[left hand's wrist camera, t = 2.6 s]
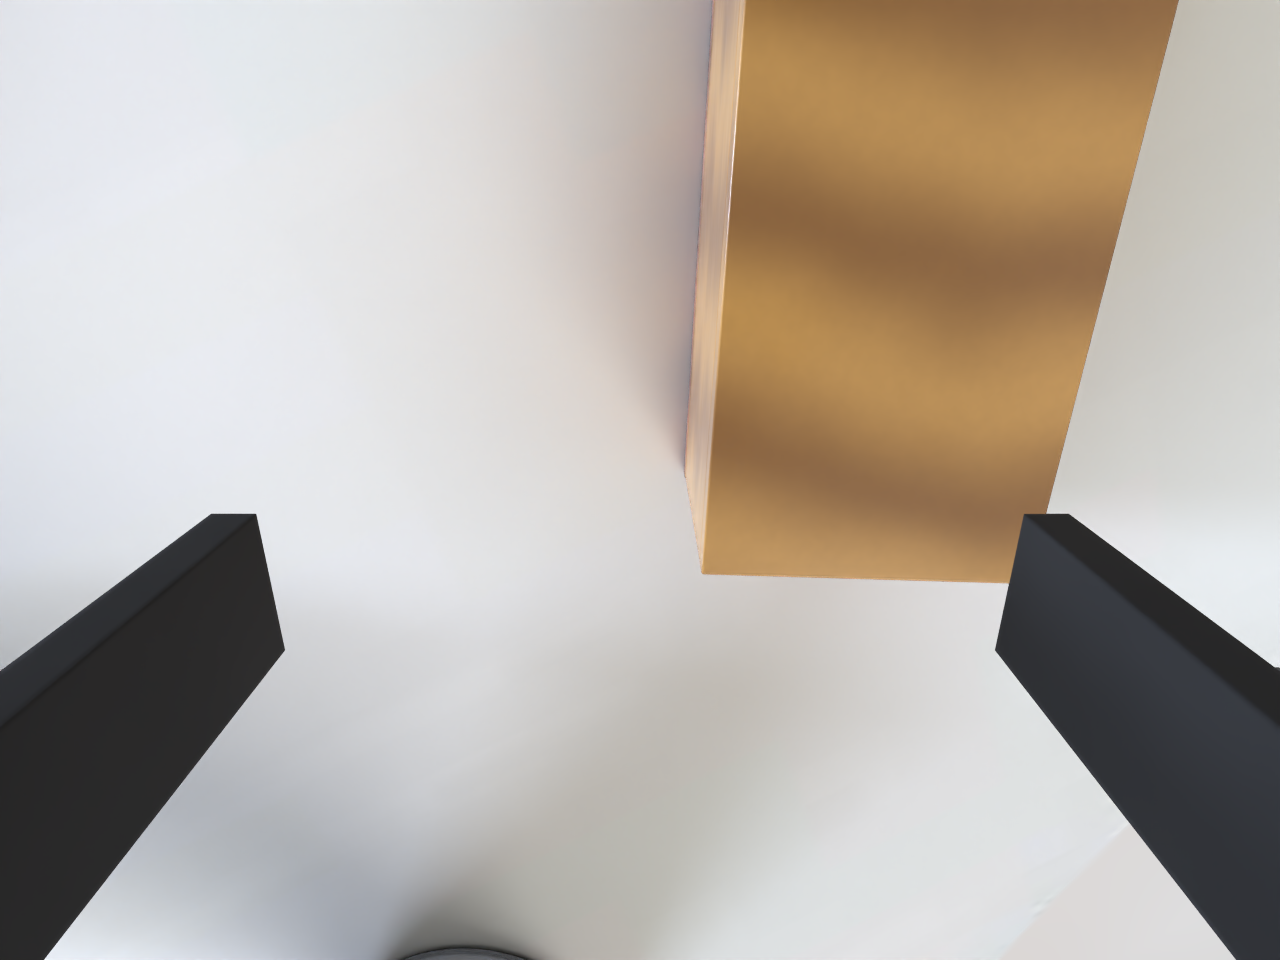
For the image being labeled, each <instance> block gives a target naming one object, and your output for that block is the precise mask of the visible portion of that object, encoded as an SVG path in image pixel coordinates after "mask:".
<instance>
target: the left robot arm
mask: <svg viewBox="0 0 1280 960" xmlns="http://www.w3.org/2000/svg"><path fill="white" fill-rule="evenodd" d="M284 651H285V648H284V643H283V639H282V634H281V629H280V624H279V620H278V615H277V610H276V606H275V601H274V596H273V591H272V587H271V582H270V577H269V572H268V568H267V563H266V558H265V554H264V549H263V544H262V539H261V535H260V530H259V525H258V520H257V516H256V514H210V515H209V516H208V517H206V518H205V519H204V520H202V521H201V522H200V523H198V524H197V525H196V526H194V527H193V528H192V529H190V530H189V531H188V532H186V533H185V534H184V535H182V536H181V537H180V538H178V539H177V540H176V541H174V542H173V543H172V544H170V545H169V546H168V547H166V548H165V549H164V550H162V551H161V552H160V553H158V554H157V555H155V556H154V557H153V558H151V559H150V560H149V561H147V562H146V563H145V564H143V565H142V566H141V567H139V568H138V569H137V570H135V571H134V572H133V573H131V574H130V575H129V576H127V577H126V578H125V579H123V580H122V581H121V582H119V583H118V584H117V585H115V586H114V587H113V588H111V589H110V590H109V591H107V592H106V593H105V594H103V595H102V596H100V597H99V598H98V599H96V600H95V601H94V602H92V603H91V604H90V605H88V606H87V607H86V608H84V609H83V610H82V611H80V612H79V613H78V614H76V615H75V616H74V617H72V618H71V619H70V620H68V621H67V622H66V623H64V624H63V625H62V626H60V627H59V628H58V629H56V630H55V631H54V632H52V633H51V634H50V635H48V636H47V637H46V638H44V639H43V640H41V641H40V642H39V643H37V644H36V645H35V646H33V647H32V648H31V649H29V650H28V651H27V652H25V653H24V654H23V655H21V656H20V657H19V658H17V659H16V660H15V661H13V662H12V663H11V664H9V665H8V666H7V667H5V668H4V669H3V670H1V671H0V960H44V959H45V958H46V956H47V955H48V954H49V952H50V951H51V950H52V949H53V947H54V946H55V945H56V943H57V942H58V941H59V940H60V938H61V937H62V936H63V934H64V933H65V932H66V931H67V929H68V928H69V927H70V926H71V924H72V923H73V922H74V920H75V919H76V918H77V917H78V915H79V914H80V913H81V911H82V910H83V909H84V908H85V906H86V905H87V904H88V902H89V901H90V900H91V899H92V897H93V896H94V895H95V893H96V892H97V891H98V890H99V888H100V887H101V886H102V884H103V883H104V882H105V881H106V879H107V878H108V877H109V875H110V874H111V873H112V872H113V870H114V869H115V868H116V866H117V865H118V864H119V863H120V861H121V860H122V859H123V857H124V856H125V855H126V854H127V852H128V851H129V850H130V848H131V847H132V846H133V845H134V843H135V842H136V841H137V839H138V838H139V837H140V836H141V834H142V833H143V832H144V830H145V829H146V828H147V827H148V825H149V824H150V823H151V821H152V820H153V819H154V818H155V816H156V815H157V814H158V813H159V811H160V810H161V809H162V807H163V806H164V805H165V804H166V802H167V801H168V800H169V798H170V797H171V796H172V795H173V793H174V792H175V791H176V789H177V788H178V787H179V786H180V784H181V783H182V782H183V780H184V779H185V778H186V777H187V775H188V774H189V773H190V771H191V770H192V769H193V768H194V766H195V765H196V764H197V762H198V761H199V760H200V759H201V757H202V756H203V755H204V753H205V752H206V751H207V750H208V748H209V747H210V746H211V744H212V743H213V742H214V741H215V739H216V738H217V737H218V735H219V734H220V733H221V732H222V730H223V729H224V728H225V726H226V725H227V724H228V723H229V721H230V720H231V719H232V717H233V716H234V715H235V714H236V712H237V711H238V710H239V708H240V707H241V706H242V705H243V703H244V702H245V701H246V700H247V698H248V697H249V696H250V694H251V693H252V692H253V691H254V689H255V688H256V687H257V685H258V684H259V683H260V682H261V680H262V679H263V678H264V676H265V675H266V674H267V673H268V671H269V670H270V669H271V667H272V666H273V665H274V664H275V662H276V661H277V660H278V658H279V657H280V656H281V655H282V653H283V652H284ZM995 651H996V652H997V653H998V655H999V656H1000V657H1001V658H1002V660H1003V661H1004V662H1005V664H1006V665H1007V666H1008V667H1009V669H1010V670H1011V671H1012V673H1013V674H1014V675H1015V676H1016V678H1017V679H1018V680H1019V682H1020V683H1021V684H1022V685H1023V687H1024V688H1025V689H1026V691H1027V692H1028V693H1029V694H1030V696H1031V697H1032V698H1033V700H1034V701H1035V702H1036V703H1037V705H1038V706H1039V707H1040V709H1041V710H1042V711H1043V712H1044V714H1045V715H1046V716H1047V717H1048V719H1049V720H1050V721H1051V723H1052V724H1053V725H1054V726H1055V728H1056V729H1057V730H1058V732H1059V733H1060V734H1061V735H1062V737H1063V738H1064V739H1065V741H1066V742H1067V743H1068V744H1069V746H1070V747H1071V748H1072V750H1073V751H1074V752H1075V753H1076V755H1077V756H1078V757H1079V759H1080V760H1081V761H1082V762H1083V764H1084V765H1085V766H1086V768H1087V769H1088V770H1089V771H1090V773H1091V774H1092V775H1093V777H1094V778H1095V779H1096V780H1097V782H1098V783H1099V784H1100V786H1101V787H1102V788H1103V789H1104V791H1105V792H1106V793H1107V795H1108V796H1109V797H1110V798H1111V800H1112V801H1113V802H1114V804H1115V805H1116V806H1117V807H1118V809H1119V810H1120V811H1121V813H1122V814H1123V815H1124V816H1125V818H1126V819H1127V820H1128V821H1129V823H1130V824H1131V825H1132V827H1133V828H1134V829H1135V830H1136V832H1137V833H1138V834H1139V836H1140V837H1141V838H1142V839H1143V841H1144V842H1145V843H1146V845H1147V846H1148V847H1149V848H1150V850H1151V851H1152V852H1153V854H1154V855H1155V856H1156V857H1157V859H1158V860H1159V861H1160V863H1161V864H1162V865H1163V866H1164V868H1165V869H1166V870H1167V872H1168V873H1169V874H1170V875H1171V877H1172V878H1173V879H1174V881H1175V882H1176V883H1177V884H1178V886H1179V887H1180V888H1181V890H1182V891H1183V892H1184V893H1185V895H1186V896H1187V897H1188V898H1189V900H1190V901H1191V902H1192V904H1193V905H1194V906H1195V908H1196V909H1197V910H1198V911H1199V913H1200V914H1201V915H1202V917H1203V918H1204V919H1205V920H1206V922H1207V923H1208V924H1209V926H1210V927H1211V928H1212V929H1213V931H1214V932H1215V933H1216V934H1217V936H1218V937H1219V938H1220V940H1221V941H1222V942H1223V943H1224V945H1225V946H1226V947H1227V949H1228V950H1229V951H1230V952H1231V954H1232V955H1233V956H1234V958H1235V959H1236V960H1280V668H1279V667H1273V666H1272V665H1271V664H1269V663H1268V662H1267V661H1265V660H1264V659H1263V658H1261V657H1260V656H1259V655H1257V654H1256V653H1255V652H1253V651H1252V650H1251V649H1249V648H1248V647H1247V646H1245V645H1244V644H1243V643H1241V642H1240V641H1239V640H1237V639H1236V638H1234V637H1233V636H1232V635H1230V634H1229V633H1228V632H1226V631H1225V630H1224V629H1222V628H1221V627H1220V626H1218V625H1217V624H1216V623H1214V622H1213V621H1212V620H1210V619H1209V618H1208V617H1206V616H1205V615H1204V614H1202V613H1201V612H1200V611H1198V610H1197V609H1196V608H1194V607H1193V606H1192V605H1190V604H1189V603H1188V602H1186V601H1185V600H1184V599H1182V598H1181V597H1180V596H1178V595H1177V594H1175V593H1174V592H1173V591H1171V590H1170V589H1169V588H1167V587H1166V586H1165V585H1163V584H1162V583H1161V582H1159V581H1158V580H1157V579H1155V578H1154V577H1153V576H1151V575H1150V574H1149V573H1147V572H1146V571H1145V570H1143V569H1142V568H1141V567H1139V566H1138V565H1137V564H1135V563H1134V562H1133V561H1131V560H1130V559H1129V558H1127V557H1126V556H1125V555H1123V554H1122V553H1120V552H1119V551H1118V550H1116V549H1115V548H1114V547H1112V546H1111V545H1110V544H1108V543H1107V542H1106V541H1104V540H1103V539H1102V538H1100V537H1099V536H1098V535H1096V534H1095V533H1094V532H1092V531H1091V530H1090V529H1088V528H1087V527H1086V526H1084V525H1083V524H1082V523H1080V522H1079V521H1078V520H1076V519H1075V518H1074V517H1072V516H1071V515H1070V514H1024V516H1023V520H1022V525H1021V530H1020V535H1019V539H1018V544H1017V549H1016V554H1015V558H1014V563H1013V568H1012V572H1011V577H1010V582H1009V587H1008V591H1007V596H1006V601H1005V606H1004V610H1003V615H1002V620H1001V624H1000V629H999V634H998V639H997V643H996V648H995ZM404 960H525V959H522V958H519V957H516V956H513V955H509V954H505V953H501V952H496V951H490V950H482V949H467V948H464V949H444V950H437V951H431V952H426V953H421V954H418V955H415V956H411V957H409V958H406V959H404Z"/></svg>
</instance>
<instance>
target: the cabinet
mask: <svg viewBox="0 0 1280 960" xmlns="http://www.w3.org/2000/svg"><path fill="white" fill-rule="evenodd" d="M1178 1H1179V0H713V2H712V19H711V35H710V52H709V68H708V85H707V101H706V118H705V135H704V151H703V168H702V184H701V201H700V217H699V234H698V250H697V267H696V283H695V300H694V316H693V333H692V350H691V366H690V383H689V399H688V416H687V432H686V449H685V465H684V474H685V478H686V482H687V488H688V494H689V500H690V506H691V512H692V518H693V524H694V530H695V535H696V541H697V547H698V553H699V559H700V566H701V572H702V574H712V575H745V576H779V577H812V578H846V579H879V580H913V581H947V582H980V583H1009V582H1010V577H1011V572H1012V568H1013V563H1014V558H1015V554H1016V549H1017V544H1018V539H1019V535H1020V530H1021V525H1022V520H1023V516H1024V514H1046V512H1047V508H1048V504H1049V500H1050V496H1051V492H1052V488H1053V485H1054V481H1055V477H1056V473H1057V469H1058V465H1059V461H1060V457H1061V454H1062V450H1063V446H1064V442H1065V438H1066V434H1067V430H1068V427H1069V423H1070V419H1071V415H1072V411H1073V407H1074V403H1075V399H1076V396H1077V392H1078V388H1079V384H1080V380H1081V376H1082V372H1083V369H1084V365H1085V361H1086V357H1087V353H1088V349H1089V345H1090V341H1091V338H1092V334H1093V330H1094V326H1095V322H1096V318H1097V314H1098V311H1099V307H1100V303H1101V299H1102V295H1103V291H1104V287H1105V283H1106V280H1107V276H1108V272H1109V268H1110V264H1111V260H1112V256H1113V253H1114V249H1115V245H1116V241H1117V237H1118V233H1119V229H1120V225H1121V222H1122V218H1123V214H1124V210H1125V206H1126V202H1127V198H1128V195H1129V191H1130V187H1131V183H1132V179H1133V175H1134V171H1135V167H1136V164H1137V160H1138V156H1139V152H1140V148H1141V144H1142V140H1143V137H1144V133H1145V129H1146V125H1147V121H1148V117H1149V113H1150V109H1151V106H1152V102H1153V98H1154V94H1155V90H1156V86H1157V82H1158V79H1159V75H1160V71H1161V67H1162V63H1163V59H1164V55H1165V51H1166V48H1167V44H1168V40H1169V36H1170V32H1171V28H1172V24H1173V20H1174V17H1175V13H1176V9H1177V5H1178Z"/></svg>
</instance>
